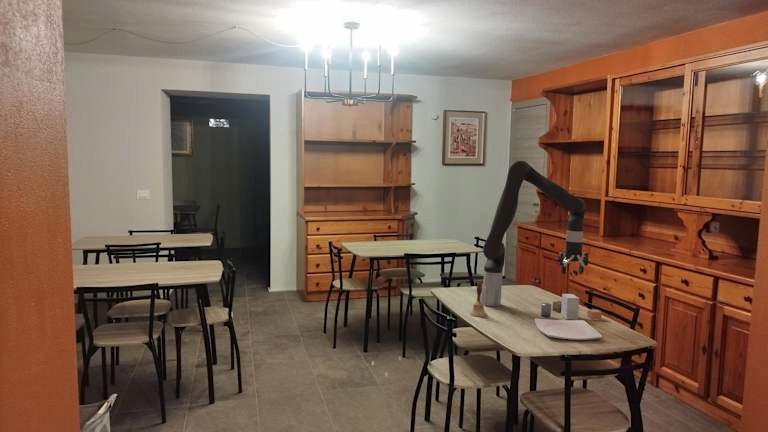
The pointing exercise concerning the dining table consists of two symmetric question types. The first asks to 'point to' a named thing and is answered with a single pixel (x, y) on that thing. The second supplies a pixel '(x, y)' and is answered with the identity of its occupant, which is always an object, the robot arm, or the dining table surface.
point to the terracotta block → (594, 314)
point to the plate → (567, 329)
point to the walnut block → (557, 306)
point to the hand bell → (478, 304)
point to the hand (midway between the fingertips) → (572, 274)
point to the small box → (570, 306)
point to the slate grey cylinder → (546, 310)
